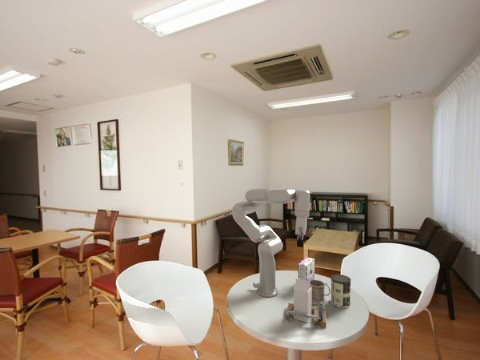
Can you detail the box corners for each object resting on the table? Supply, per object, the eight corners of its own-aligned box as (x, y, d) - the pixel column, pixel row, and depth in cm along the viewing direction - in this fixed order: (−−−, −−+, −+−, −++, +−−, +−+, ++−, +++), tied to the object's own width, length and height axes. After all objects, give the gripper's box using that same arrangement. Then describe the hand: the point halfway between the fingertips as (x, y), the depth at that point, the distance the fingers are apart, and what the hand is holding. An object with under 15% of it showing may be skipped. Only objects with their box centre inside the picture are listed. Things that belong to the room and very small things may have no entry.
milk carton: (307, 322, 124) (308, 284, 122) (293, 318, 127) (293, 281, 126) (311, 315, 130) (311, 279, 129) (297, 311, 133) (298, 275, 132)
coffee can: (348, 298, 145) (348, 274, 144) (352, 309, 135) (352, 283, 134) (329, 297, 147) (329, 273, 146) (331, 306, 137) (332, 281, 136)
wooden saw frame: (285, 320, 125) (285, 315, 125) (288, 307, 137) (288, 302, 137) (326, 327, 120) (326, 322, 120) (325, 313, 131) (325, 308, 131)
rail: (286, 320, 125) (286, 311, 125) (287, 319, 126) (287, 310, 126) (320, 326, 121) (320, 317, 120) (320, 325, 122) (320, 316, 121)
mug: (303, 298, 146) (304, 277, 146) (316, 293, 151) (316, 274, 151) (323, 310, 134) (323, 288, 133) (336, 305, 139) (336, 283, 138)
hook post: (318, 323, 119) (318, 305, 119) (318, 318, 123) (318, 301, 122) (322, 323, 119) (322, 306, 118) (322, 318, 122) (322, 301, 122)
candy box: (305, 281, 168) (306, 256, 167) (314, 283, 164) (315, 258, 163) (297, 289, 156) (297, 263, 155) (306, 292, 153) (307, 265, 152)
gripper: (297, 209, 146) (296, 238, 147) (292, 215, 130) (291, 248, 131) (310, 210, 143) (309, 240, 145) (307, 216, 127) (306, 250, 128)
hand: (301, 244), depth 138 cm, fingers open, 9 cm apart
